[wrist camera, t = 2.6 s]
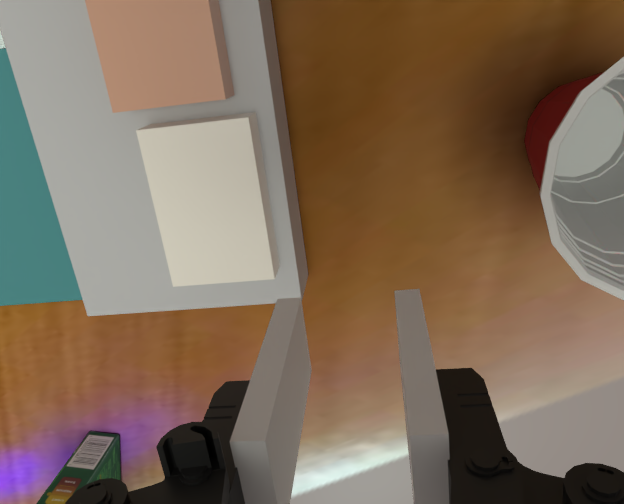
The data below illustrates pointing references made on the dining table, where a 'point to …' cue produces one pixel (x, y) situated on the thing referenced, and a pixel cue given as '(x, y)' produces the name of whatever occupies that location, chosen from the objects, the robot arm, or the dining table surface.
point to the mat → (27, 212)
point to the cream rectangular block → (211, 199)
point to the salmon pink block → (161, 52)
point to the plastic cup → (583, 174)
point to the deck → (128, 159)
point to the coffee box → (86, 467)
